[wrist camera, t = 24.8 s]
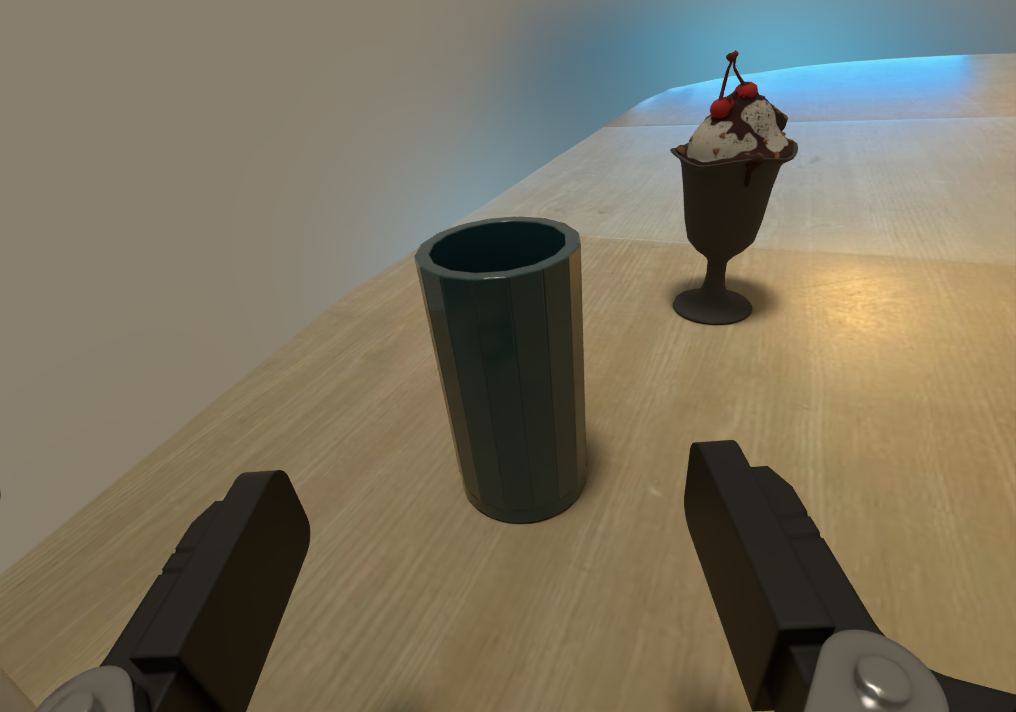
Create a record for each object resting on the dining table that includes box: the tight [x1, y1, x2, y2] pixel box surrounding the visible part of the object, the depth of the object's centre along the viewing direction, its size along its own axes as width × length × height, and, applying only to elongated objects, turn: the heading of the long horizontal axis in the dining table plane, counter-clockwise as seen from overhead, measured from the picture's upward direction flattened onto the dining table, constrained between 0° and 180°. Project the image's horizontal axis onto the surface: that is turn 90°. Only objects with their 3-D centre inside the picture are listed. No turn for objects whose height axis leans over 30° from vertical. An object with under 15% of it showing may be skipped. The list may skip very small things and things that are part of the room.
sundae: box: [670, 51, 798, 324], centre depth 31 cm, size 7×7×15 cm
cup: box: [415, 217, 586, 523], centre depth 21 cm, size 6×6×11 cm
